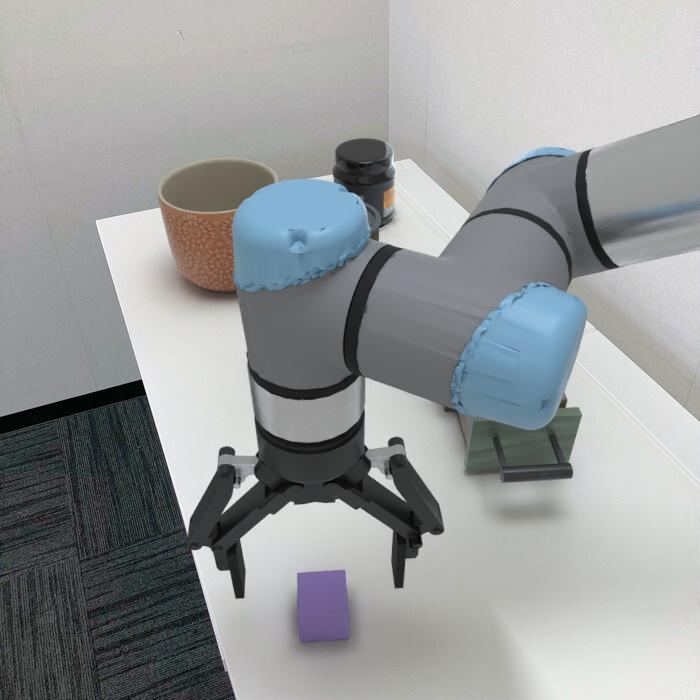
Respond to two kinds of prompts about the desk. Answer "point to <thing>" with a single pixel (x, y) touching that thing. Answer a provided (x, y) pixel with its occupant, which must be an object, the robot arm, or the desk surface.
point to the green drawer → (523, 446)
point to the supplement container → (367, 173)
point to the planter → (208, 215)
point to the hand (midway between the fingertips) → (319, 579)
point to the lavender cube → (322, 605)
